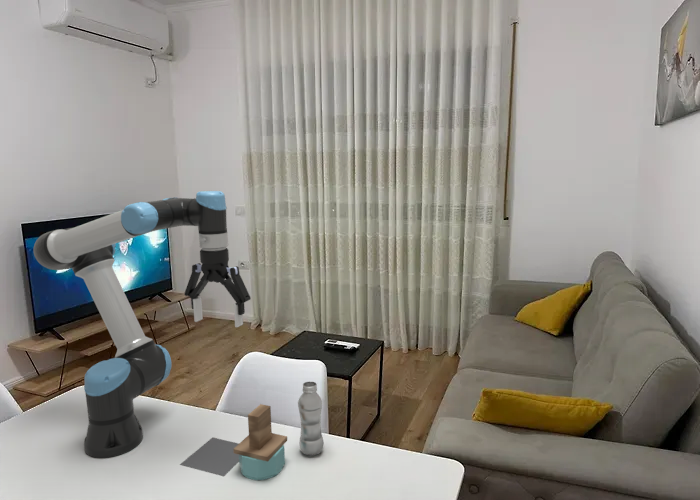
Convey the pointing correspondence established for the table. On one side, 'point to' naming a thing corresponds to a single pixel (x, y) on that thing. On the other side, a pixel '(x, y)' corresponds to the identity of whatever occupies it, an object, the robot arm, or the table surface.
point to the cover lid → (260, 436)
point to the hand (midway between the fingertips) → (218, 323)
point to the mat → (214, 457)
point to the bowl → (262, 466)
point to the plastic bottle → (310, 420)
